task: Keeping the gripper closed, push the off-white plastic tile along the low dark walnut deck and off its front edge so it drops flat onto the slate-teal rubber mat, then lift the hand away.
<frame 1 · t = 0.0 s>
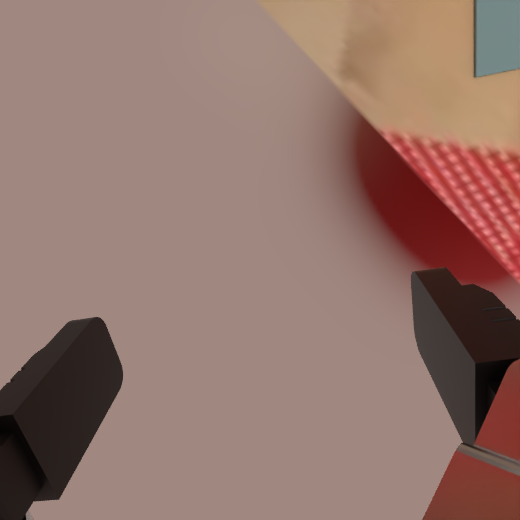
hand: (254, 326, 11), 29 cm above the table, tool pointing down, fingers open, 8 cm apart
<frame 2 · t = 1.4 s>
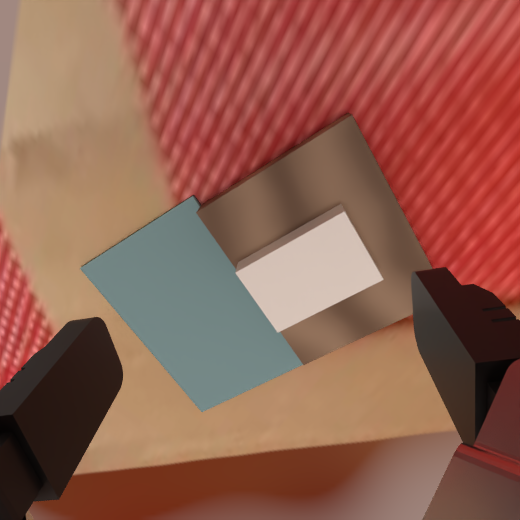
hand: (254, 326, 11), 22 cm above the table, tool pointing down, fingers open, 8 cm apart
tile: (307, 265, 32), point 2 cm above the table, touching deck
deck: (322, 246, 33), on the table
mat: (198, 314, 37), on the table
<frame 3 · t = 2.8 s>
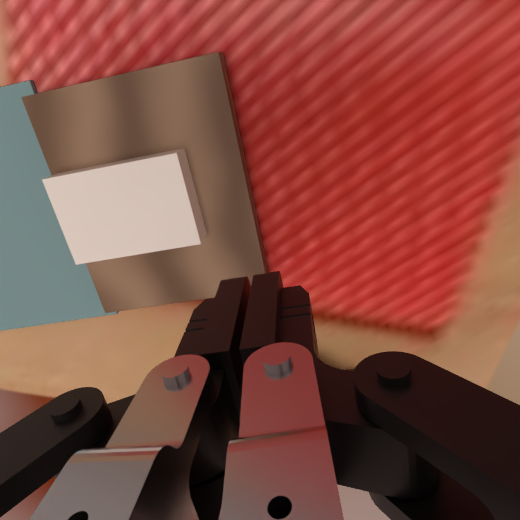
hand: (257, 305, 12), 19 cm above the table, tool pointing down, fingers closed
tile: (133, 204, 29), point 2 cm above the table, touching deck
deck: (162, 193, 30), on the table
mat: (9, 221, 32), on the table
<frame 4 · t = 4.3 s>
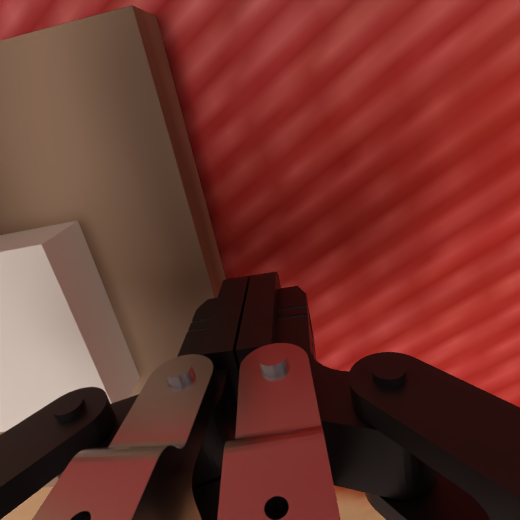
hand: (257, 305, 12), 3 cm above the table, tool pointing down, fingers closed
deck: (60, 290, 16), on the table
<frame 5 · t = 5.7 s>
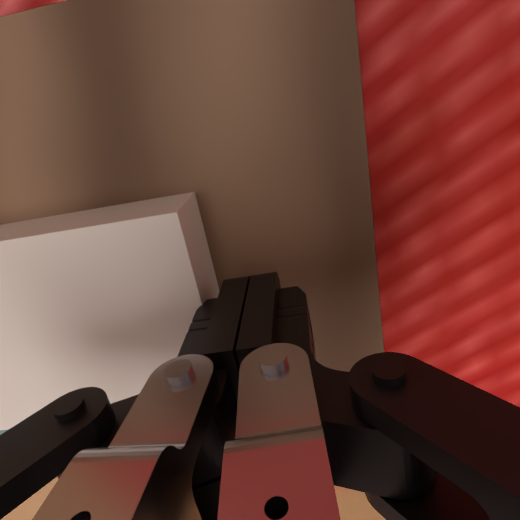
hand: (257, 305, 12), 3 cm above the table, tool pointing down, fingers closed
tile: (83, 304, 13), point 2 cm above the table, touching gripper
deck: (180, 265, 15), on the table
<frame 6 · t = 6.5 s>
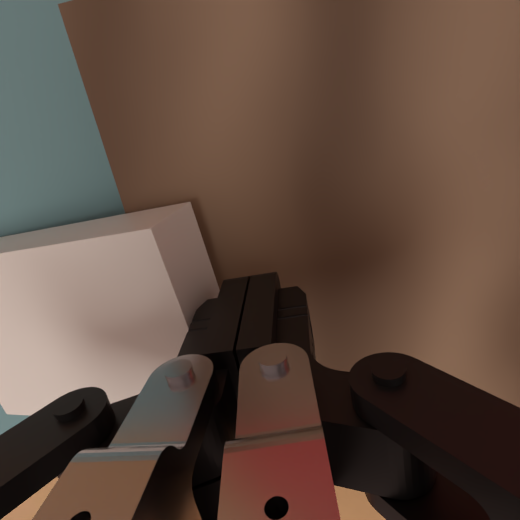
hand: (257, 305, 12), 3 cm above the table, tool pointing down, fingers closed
tile: (104, 307, 14), point 2 cm above the table, tilted 14°, touching gripper, mat
deck: (350, 239, 14), on the table
mat: (18, 289, 16), on the table
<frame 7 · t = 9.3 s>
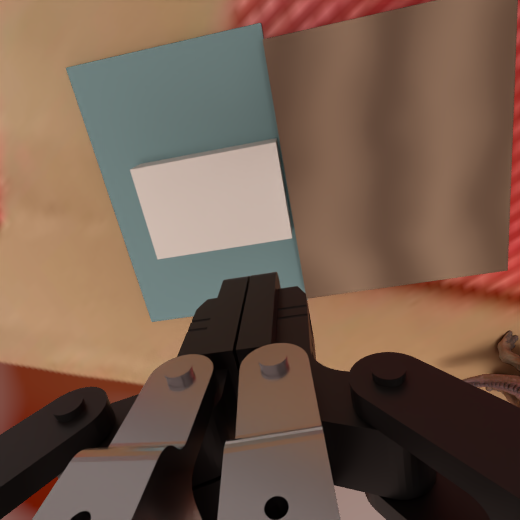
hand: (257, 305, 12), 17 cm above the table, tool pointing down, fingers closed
tile: (217, 196, 27), resting on mat
deck: (388, 159, 26), on the table
mat: (199, 193, 28), on the table
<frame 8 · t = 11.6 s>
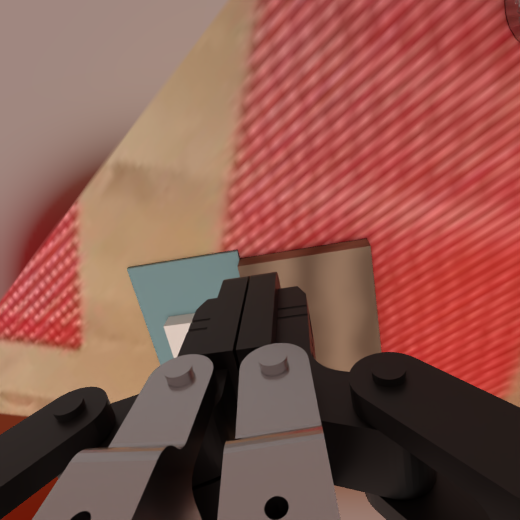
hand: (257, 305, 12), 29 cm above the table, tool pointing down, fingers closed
tile: (214, 334, 46), resting on mat
deck: (313, 316, 45), on the table
mat: (203, 331, 47), on the table
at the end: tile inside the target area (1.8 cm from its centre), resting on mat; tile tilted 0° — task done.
